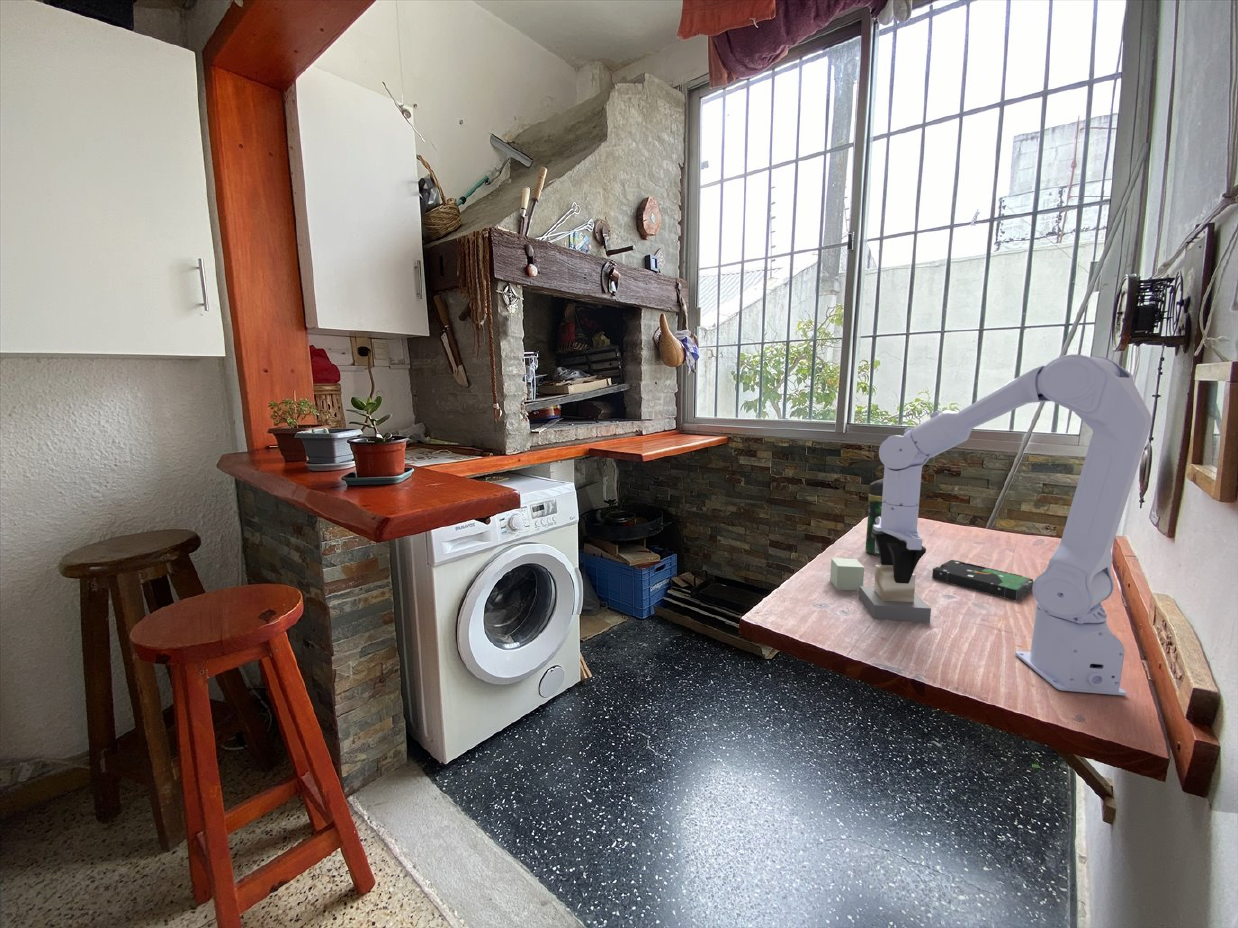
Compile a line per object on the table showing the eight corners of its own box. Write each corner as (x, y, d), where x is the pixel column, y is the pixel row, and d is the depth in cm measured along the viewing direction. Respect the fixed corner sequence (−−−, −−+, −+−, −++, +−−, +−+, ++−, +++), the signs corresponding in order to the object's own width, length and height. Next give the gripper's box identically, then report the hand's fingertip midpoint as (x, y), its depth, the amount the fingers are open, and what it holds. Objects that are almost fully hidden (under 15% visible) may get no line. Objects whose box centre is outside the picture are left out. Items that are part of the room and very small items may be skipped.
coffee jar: (871, 544, 128) (876, 474, 125) (905, 550, 123) (911, 477, 120) (860, 553, 121) (865, 479, 118) (896, 560, 116) (902, 483, 113)
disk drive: (931, 581, 104) (1017, 603, 92) (931, 568, 104) (1019, 589, 92) (950, 570, 110) (1033, 590, 99) (951, 558, 110) (1035, 577, 98)
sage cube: (862, 591, 98) (864, 567, 97) (836, 589, 99) (837, 566, 98) (855, 581, 103) (856, 558, 102) (830, 580, 104) (831, 557, 103)
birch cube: (914, 602, 86) (915, 575, 86) (883, 600, 87) (884, 573, 87) (902, 591, 91) (904, 565, 91) (874, 590, 92) (875, 564, 91)
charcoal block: (929, 624, 84) (931, 608, 84) (873, 621, 86) (874, 605, 86) (909, 603, 93) (910, 588, 93) (858, 600, 95) (859, 585, 94)
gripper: (862, 494, 94) (858, 561, 96) (891, 511, 80) (886, 590, 82) (902, 495, 93) (897, 563, 95) (938, 513, 79) (931, 592, 81)
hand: (894, 576), depth 89 cm, fingers open, 6 cm apart
